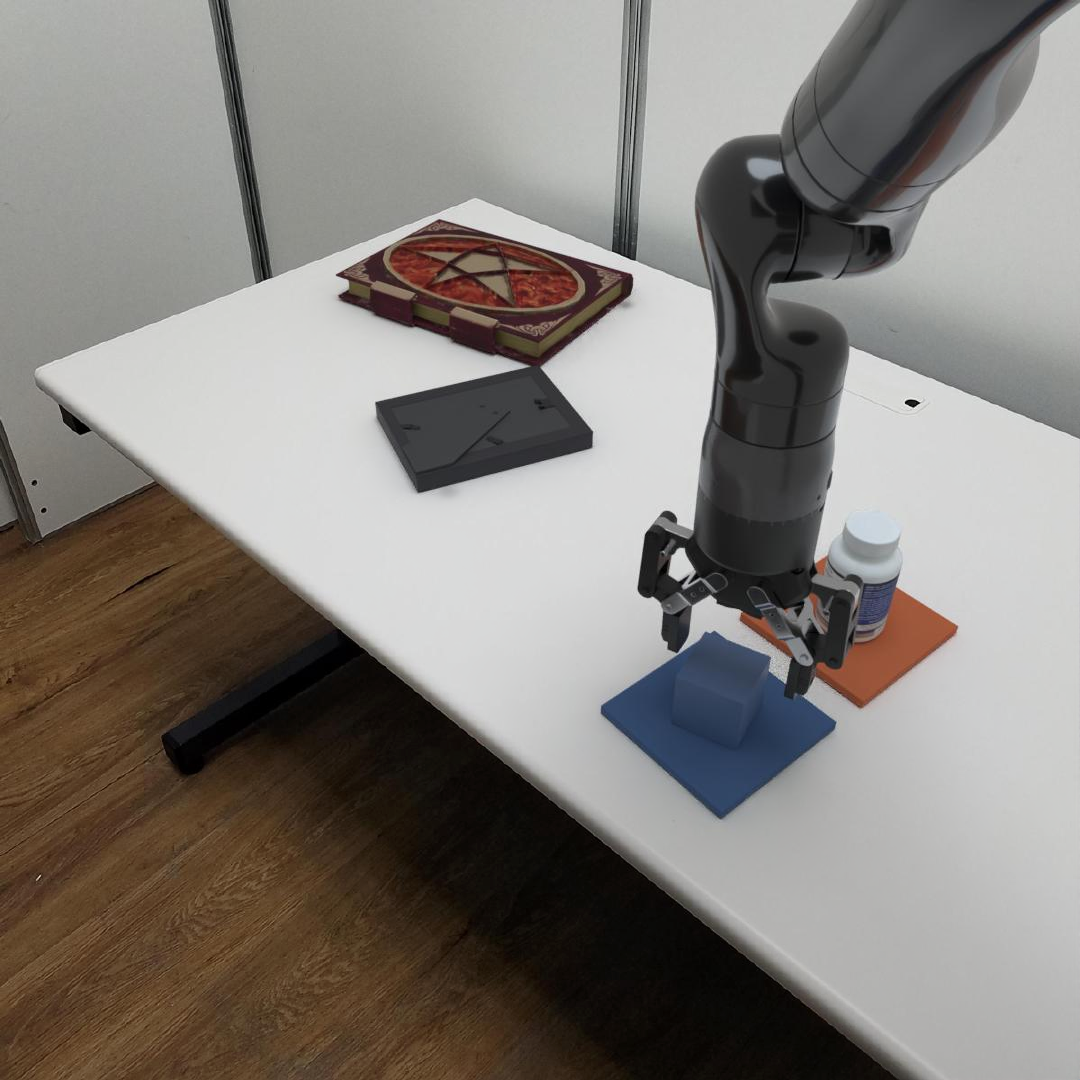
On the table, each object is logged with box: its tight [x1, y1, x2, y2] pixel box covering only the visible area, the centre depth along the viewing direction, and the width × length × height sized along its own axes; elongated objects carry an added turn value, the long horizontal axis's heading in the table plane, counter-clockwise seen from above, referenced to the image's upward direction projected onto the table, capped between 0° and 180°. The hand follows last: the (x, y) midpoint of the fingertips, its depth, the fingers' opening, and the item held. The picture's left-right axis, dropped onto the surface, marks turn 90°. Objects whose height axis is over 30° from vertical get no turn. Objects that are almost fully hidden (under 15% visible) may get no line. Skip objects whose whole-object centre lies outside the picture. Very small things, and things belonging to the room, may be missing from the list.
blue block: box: [671, 631, 772, 751], centre depth 75 cm, size 5×5×5 cm
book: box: [335, 218, 634, 366], centre depth 125 cm, size 28×21×5 cm
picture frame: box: [374, 365, 594, 493], centre depth 104 cm, size 13×2×18 cm
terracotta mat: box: [739, 554, 959, 709], centre depth 84 cm, size 12×12×1 cm
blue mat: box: [600, 630, 838, 820], centre depth 77 cm, size 12×12×1 cm
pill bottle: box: [816, 509, 904, 642], centre depth 81 cm, size 5×5×10 cm
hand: (734, 667), depth 73 cm, fingers open, 8 cm apart
